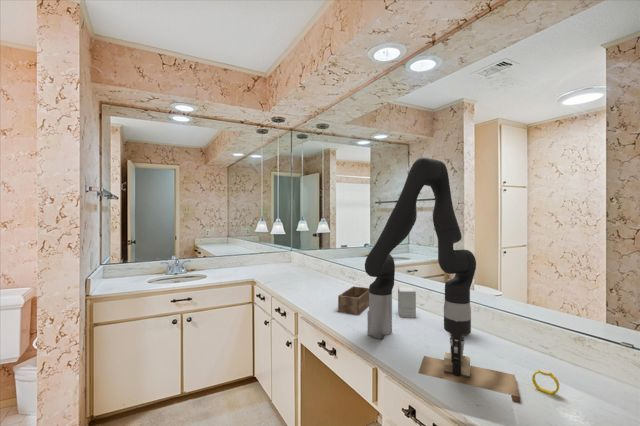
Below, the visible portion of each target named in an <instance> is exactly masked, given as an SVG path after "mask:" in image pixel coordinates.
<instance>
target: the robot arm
mask: <svg viewBox="0 0 640 426" xmlns="http://www.w3.org/2000/svg"><path fill="white" fill-rule="evenodd" d="M409 169H410V170H409V171H408V173H407V174H408V175H407V177H406V180H405V182H404V184H403V187H402V190H401V193H400V195H399V197H398V199H397V201H396V203H395V206H394V207H393V209H392V211H391V213H390V215H389V217H388V219H387V221H386V223H385V225H384V227H383V229H382V231H381V233H380V235H379V237H378V239H377V241H376V242H375V244H374V246H373V247H372V248H371V250H370V252H369V253H368V255H367V256H366V259H365V262H364V270H365V273H366V274H367V276H369V277H372V278H375V279H374V281H373V282H372V283H371V284H369V287H368V288H369V307H368V311H367V336H370V337H372V338H375V339H382V340H383V339H384V338H385V337H386V336H390V335H391V334H393V289H394V286H395V272H396V271H395V270H396V264H395V260H394V257H393V256H392V255H391V253H392V251H394V250H395V248H396V247H397V246H399V245H400V244H401V243H403V241H404V240H405V239H406V238H407V237H408V236H409V235H410V232H411V231H412V229H413V227H414V225H416V224H415V223H416V222H417V218H418V217H417V215H418V214H417V213H418V212H417V201H418V197H419V195H420V193H421V192H422V189H423V187H424V186H428V187H430V188H431V191H432V193H433V196H434V207H433V212H432V223H433V227H434V231H435V235H436V237H437V262H438V264H439V267H440V269H441V271H442V272H444V273H445V274H448V275H454V277H453V278H452V279H449V280H447V281H446V282H445V284H444V302H443V329H444V331H446V332H447V333H450V337H449V344H450V352H449V353H451V357H452V360H451V362H452V363H453V375H455V376H461V363H462V361H461V356H464V349H465V338H466V337H465V336H468V335H470V334H471V332H472V308H471V286H472V284H473V280H474V276H475V273H476V270H477V261H476V260H477V259H476V257H475V255H474V253H473V252H472V251H470V250H469V249H454V244H456V243H459V242H460V241H461V240H462V237H463V236H462V232H461V229H460V226H459V223H458V219H457V217H456V213H455V209H454V205H453V199H452V192H451V186H450V178H449V172H448V169H447V165H446V164H445V163H444V162H443V161H441V160H438V159H434V158H429V157H425V156H424V157H419V158H417V159H416V160H415V161H414V162H413V163H412V165H411V167H410V168H409ZM454 358H458V359H454Z"/></svg>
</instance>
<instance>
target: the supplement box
mask: <svg viewBox="0 0 640 426" xmlns="http://www.w3.org/2000/svg"><path fill="white" fill-rule="evenodd" d="M416 292H417V291H416V290H415V289H414V288H413V287H397V312H398V315H399V316H400V318H414V319H415V318H416V319H417V293H416Z"/></svg>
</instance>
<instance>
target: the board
mask: <svg viewBox="0 0 640 426" xmlns="http://www.w3.org/2000/svg"><path fill="white" fill-rule="evenodd" d="M418 374H419V375H420V374H421V375H425V376H430V377H434V378H437V379H443V380H446V381H451V382H455V383H459V384H462V385H467V386H472V387H477V388H480V389H484V390H489V391H493V392H497V393H502V394H506V395H509V396H511V400H512V402H517V403H520V402H521V395H520V392H519V391H520V390H519V387H518V384H517V383H518V382H517V378H516V374H512V373H508V372H504V371H498V370H494V369H489V368H485V367H480V366H476V365H471V364H470V378H467V377H462V376H455V375H453V374H449V373H445V372H444V359H441V358H436V357H432V356H427V355H423V358H422V361H421V364H420V366H419V369H418Z"/></svg>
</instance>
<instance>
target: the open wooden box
mask: <svg viewBox="0 0 640 426" xmlns="http://www.w3.org/2000/svg"><path fill="white" fill-rule="evenodd" d="M337 298H338V299H337V301H338V303H337V310H338V313H342V314H350V315H355V316H360V315H361V314H362V313H363V312H365V311H366V310H367V309H368V308H369V287H364V286H363V287H361V286H354V285H353V286H351V287H350V288H348V289H347V290H345V291H344V292H342V293H340V294H339V295H338V296H337Z"/></svg>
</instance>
